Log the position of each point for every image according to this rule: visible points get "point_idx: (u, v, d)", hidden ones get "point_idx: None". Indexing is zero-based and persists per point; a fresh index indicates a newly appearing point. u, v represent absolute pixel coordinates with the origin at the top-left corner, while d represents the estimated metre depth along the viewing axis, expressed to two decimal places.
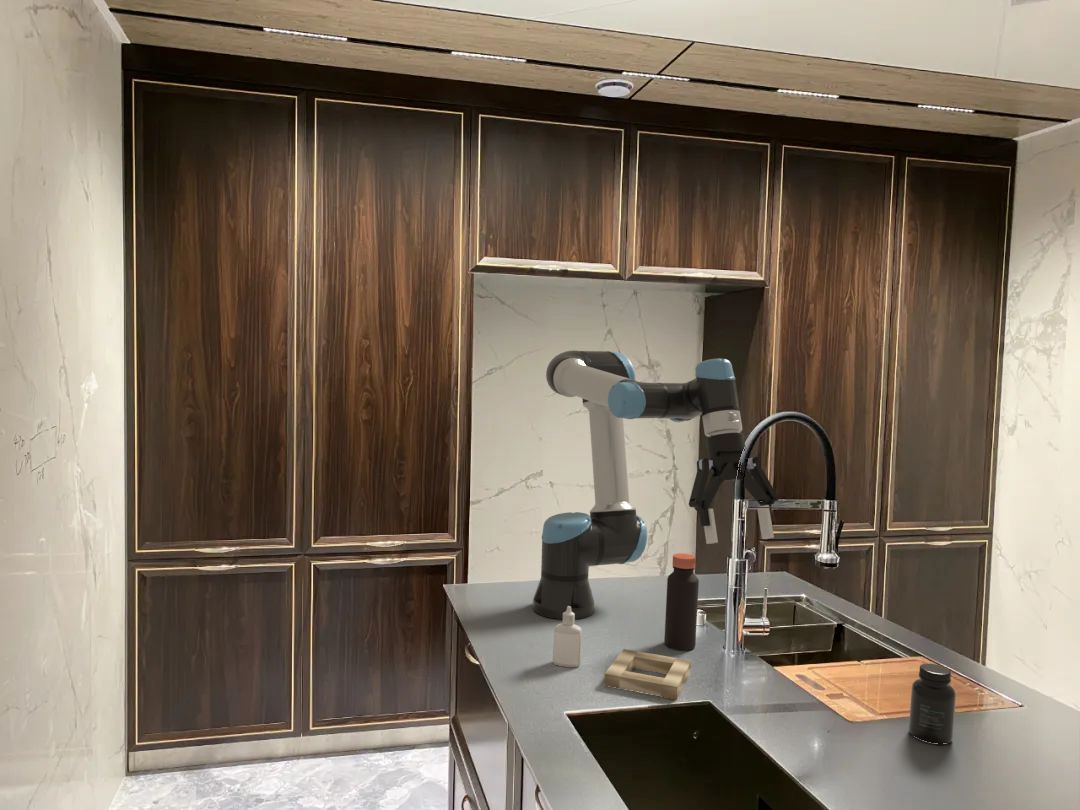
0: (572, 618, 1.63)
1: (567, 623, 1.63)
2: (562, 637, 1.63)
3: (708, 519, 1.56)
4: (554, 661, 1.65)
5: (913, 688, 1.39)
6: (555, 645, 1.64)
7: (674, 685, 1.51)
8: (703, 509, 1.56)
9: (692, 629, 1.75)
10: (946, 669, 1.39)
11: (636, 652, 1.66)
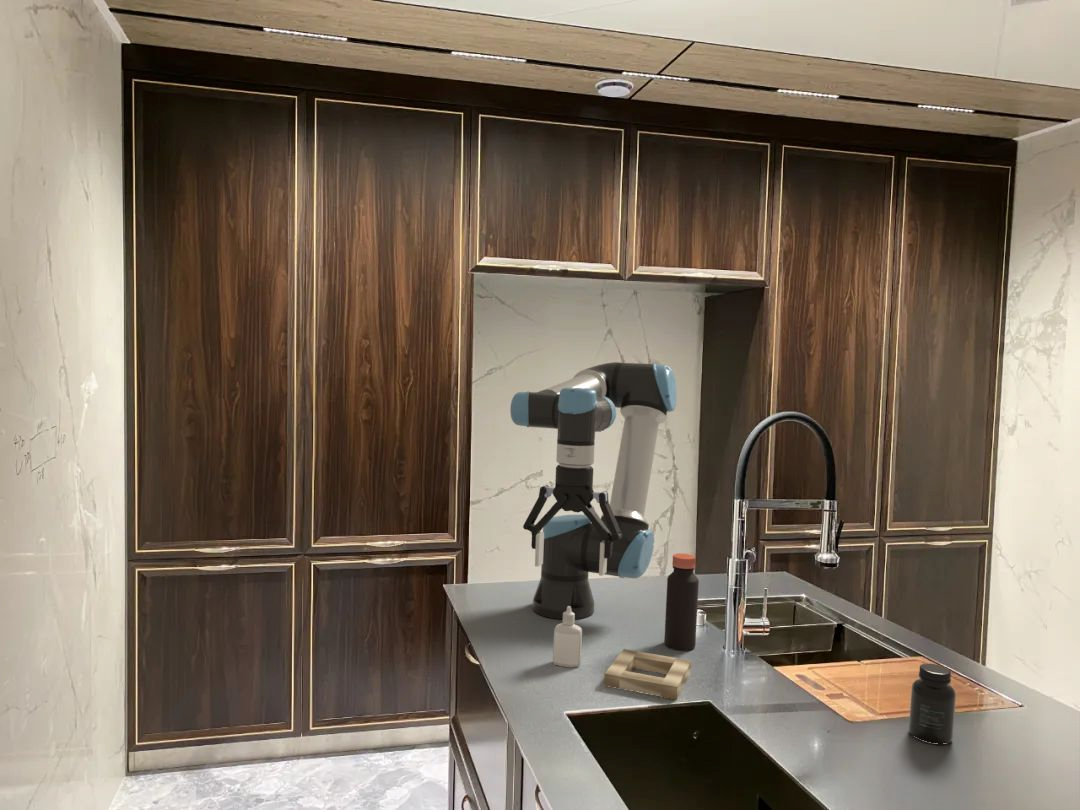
0: (572, 618, 1.63)
1: (567, 623, 1.63)
2: (562, 637, 1.63)
3: (535, 543, 1.65)
4: (554, 661, 1.65)
5: (913, 688, 1.39)
6: (555, 645, 1.64)
7: (674, 685, 1.51)
8: (532, 533, 1.65)
9: (692, 629, 1.75)
10: (946, 669, 1.39)
11: (636, 652, 1.66)
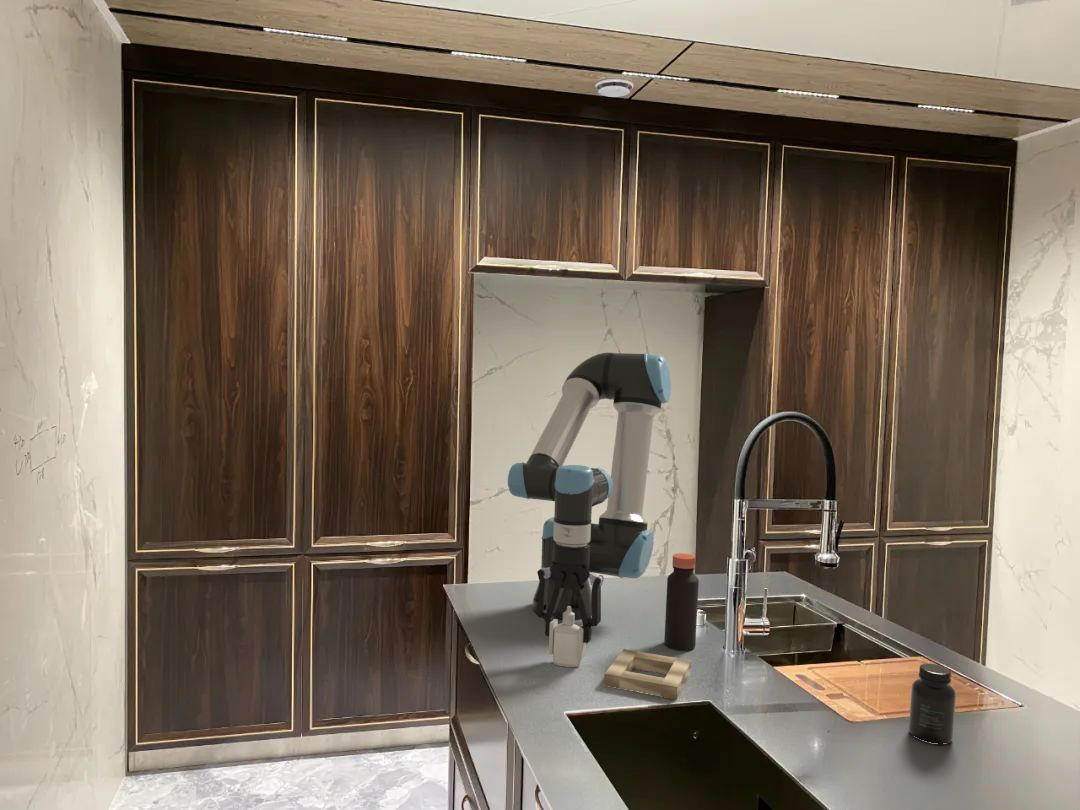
0: (572, 618, 1.63)
1: (567, 623, 1.63)
2: (562, 637, 1.63)
3: (549, 631, 1.65)
4: (554, 661, 1.65)
5: (913, 688, 1.39)
6: (555, 645, 1.64)
7: (674, 685, 1.51)
8: (546, 621, 1.66)
9: (692, 629, 1.75)
10: (946, 669, 1.39)
11: (636, 652, 1.66)
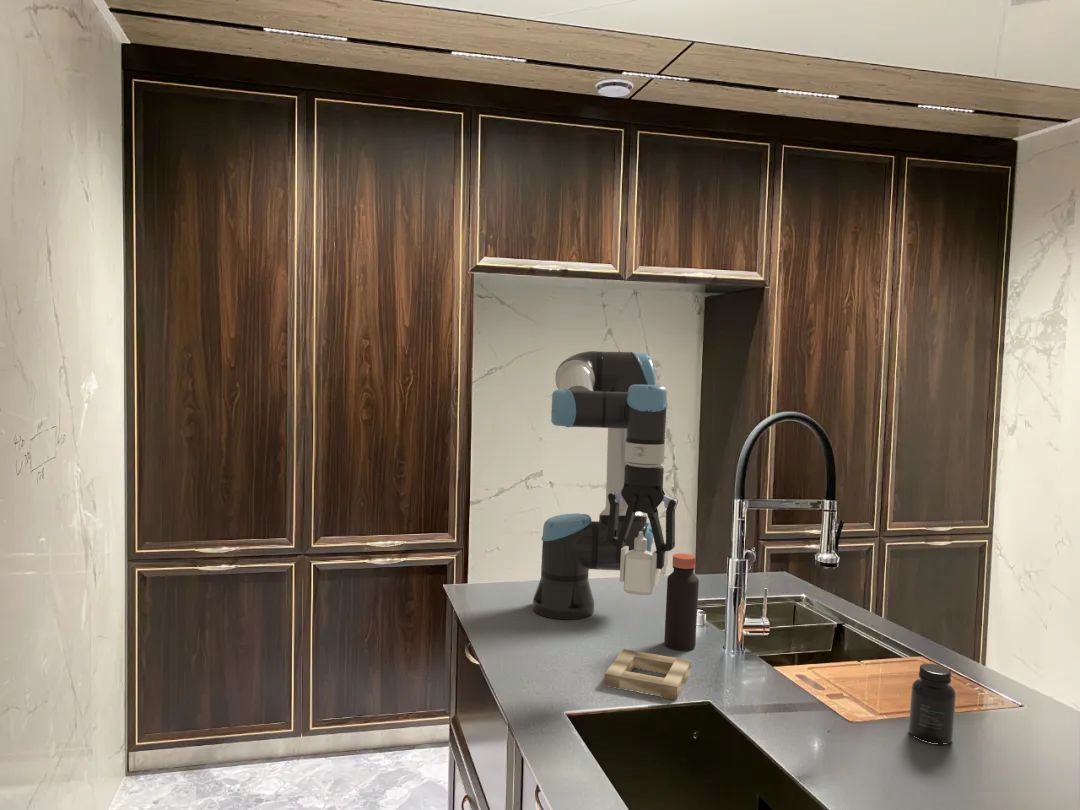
0: (644, 543, 1.57)
1: (639, 548, 1.57)
2: (634, 563, 1.57)
3: (620, 558, 1.59)
4: (625, 589, 1.58)
5: (913, 688, 1.39)
6: (626, 572, 1.57)
7: (674, 685, 1.51)
8: (617, 547, 1.59)
9: (692, 629, 1.75)
10: (946, 669, 1.39)
11: (636, 652, 1.66)
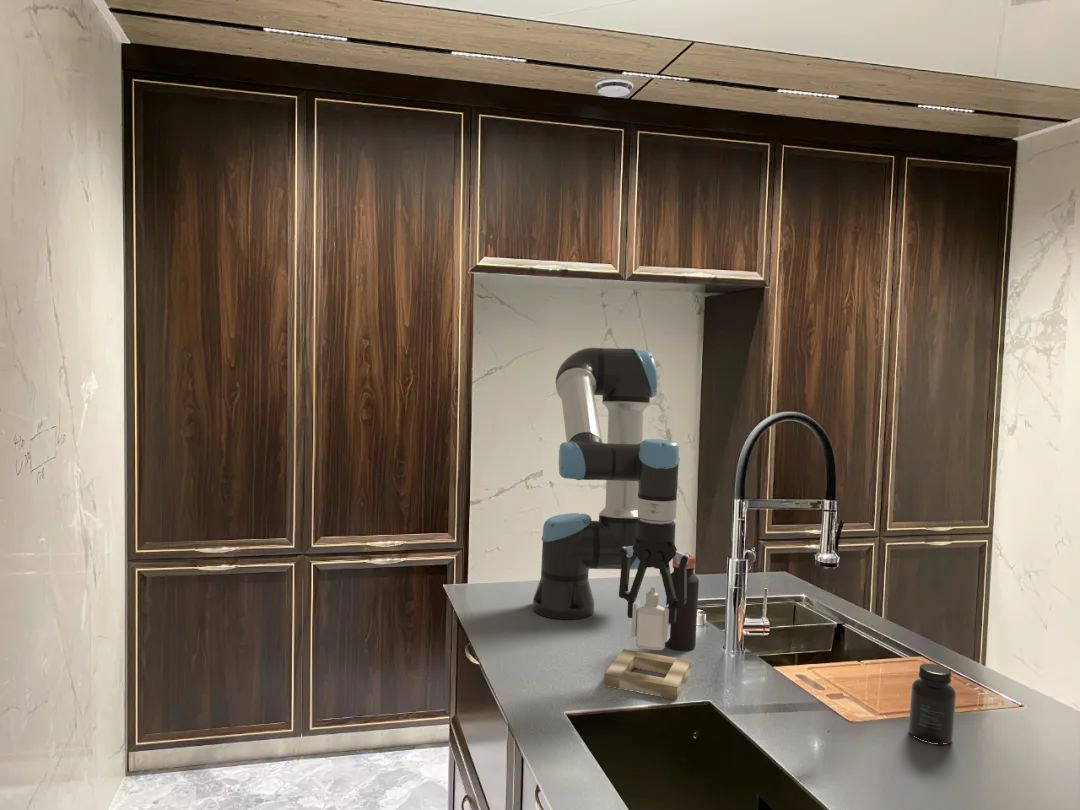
0: (656, 598, 1.57)
1: (651, 604, 1.57)
2: (647, 618, 1.57)
3: (632, 612, 1.59)
4: (637, 644, 1.58)
5: (913, 688, 1.39)
6: (638, 627, 1.57)
7: (674, 685, 1.51)
8: (628, 602, 1.59)
9: (692, 629, 1.75)
10: (946, 669, 1.39)
11: (636, 652, 1.66)
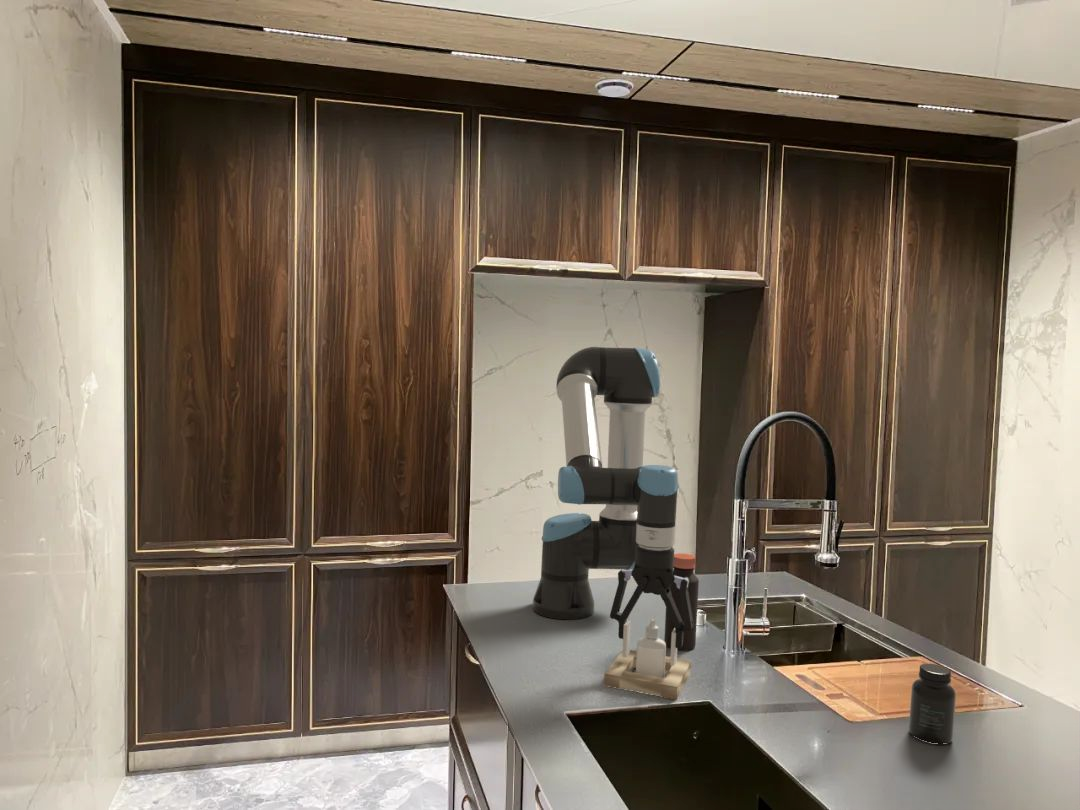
0: (656, 631, 1.57)
1: (651, 637, 1.57)
2: (646, 651, 1.57)
3: (623, 633, 1.60)
4: None
5: (913, 688, 1.39)
6: (638, 660, 1.58)
7: (674, 685, 1.51)
8: (619, 622, 1.60)
9: (692, 629, 1.75)
10: (946, 669, 1.39)
11: (636, 652, 1.66)
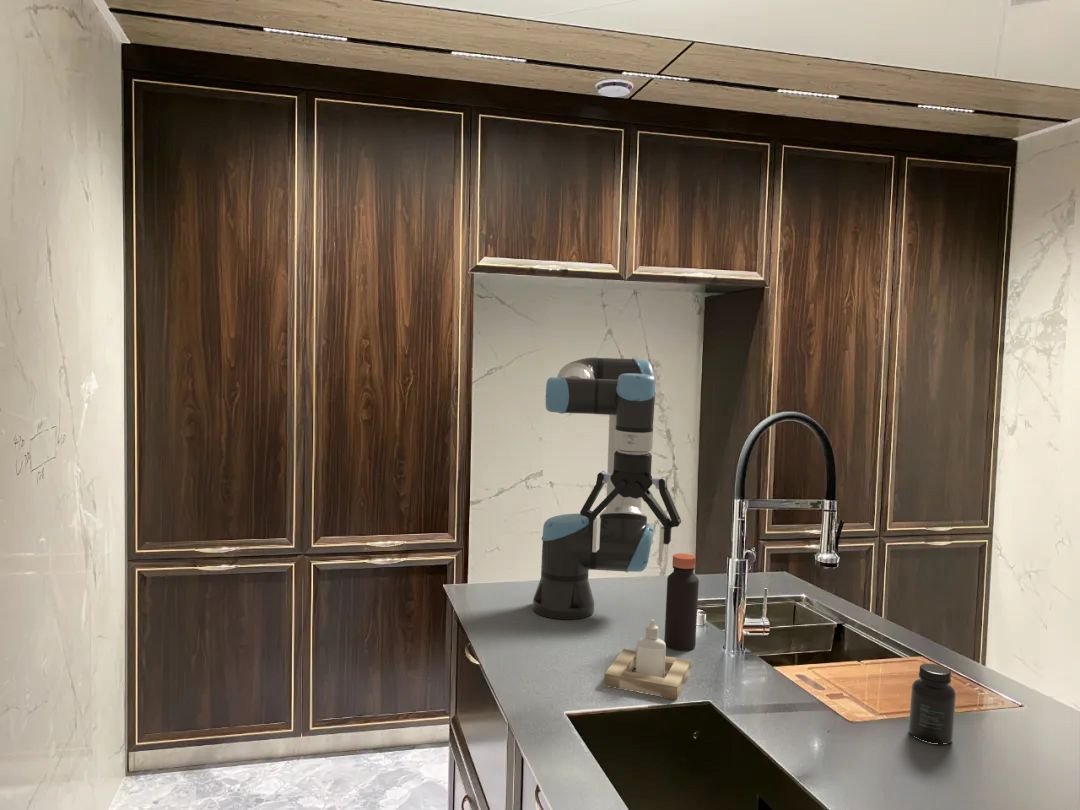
0: (656, 632, 1.57)
1: (651, 637, 1.57)
2: (646, 651, 1.57)
3: (592, 529, 1.65)
4: None
5: (913, 688, 1.39)
6: (638, 660, 1.58)
7: (674, 685, 1.51)
8: (589, 519, 1.65)
9: (692, 629, 1.75)
10: (946, 669, 1.39)
11: (636, 652, 1.66)
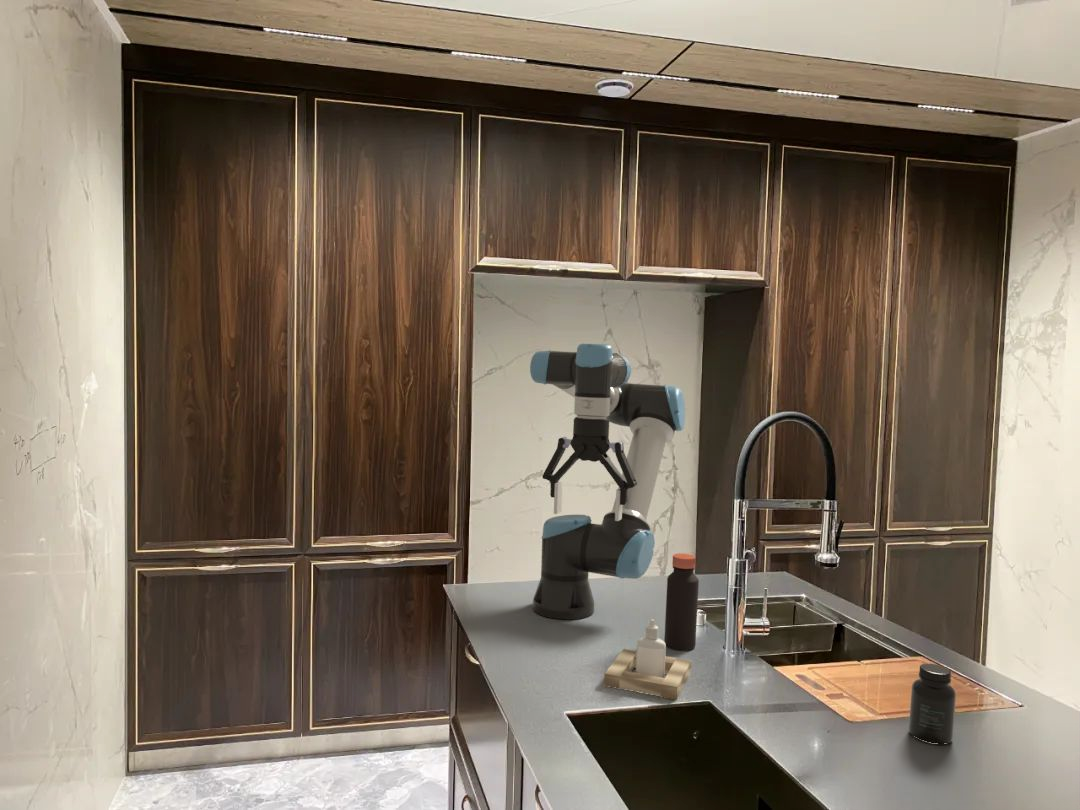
0: (656, 632, 1.57)
1: (651, 637, 1.57)
2: (646, 651, 1.57)
3: (554, 492, 1.74)
4: None
5: (913, 688, 1.39)
6: (638, 660, 1.58)
7: (674, 685, 1.51)
8: (551, 482, 1.74)
9: (692, 629, 1.75)
10: (946, 669, 1.38)
11: (636, 652, 1.66)
